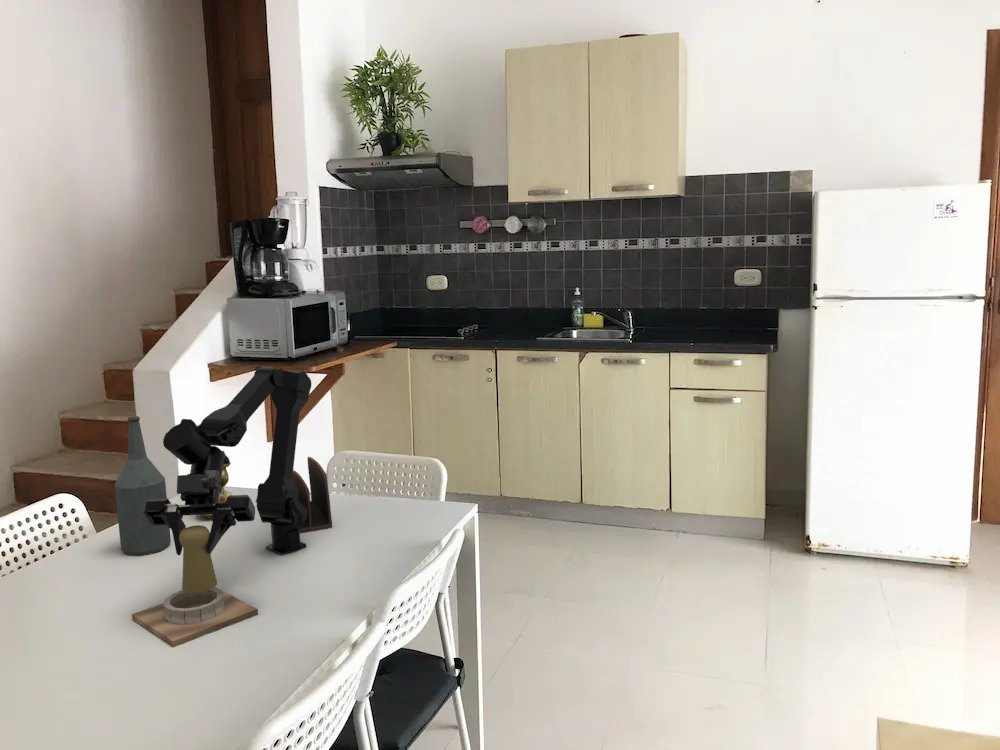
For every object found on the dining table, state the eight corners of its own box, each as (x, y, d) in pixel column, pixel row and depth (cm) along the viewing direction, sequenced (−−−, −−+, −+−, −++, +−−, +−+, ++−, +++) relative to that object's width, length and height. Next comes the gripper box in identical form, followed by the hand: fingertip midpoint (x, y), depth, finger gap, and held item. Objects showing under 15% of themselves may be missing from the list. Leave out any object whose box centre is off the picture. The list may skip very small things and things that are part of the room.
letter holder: (314, 505, 215) (310, 452, 213) (332, 528, 197) (329, 470, 195) (274, 511, 211) (270, 457, 209) (289, 536, 193) (285, 476, 191)
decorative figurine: (214, 523, 203) (208, 463, 200) (186, 520, 206) (181, 460, 203) (239, 510, 212) (235, 453, 209) (213, 508, 215) (208, 451, 212)
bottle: (122, 559, 181) (108, 423, 176) (120, 545, 190) (106, 415, 185) (173, 550, 186) (161, 417, 181) (168, 536, 194) (156, 410, 189)
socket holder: (132, 619, 152) (130, 601, 151) (214, 590, 163) (212, 573, 163) (173, 646, 141) (171, 627, 140) (258, 614, 152) (256, 596, 152)
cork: (206, 593, 148) (200, 534, 146) (175, 592, 149) (168, 533, 147) (223, 579, 153) (218, 522, 152) (193, 578, 155) (187, 521, 153)
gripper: (141, 456, 151) (124, 537, 142) (246, 452, 152) (236, 531, 143) (160, 486, 160) (145, 563, 151) (259, 481, 161) (250, 558, 152)
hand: (193, 553), depth 149 cm, fingers closed on cork, 5 cm apart
